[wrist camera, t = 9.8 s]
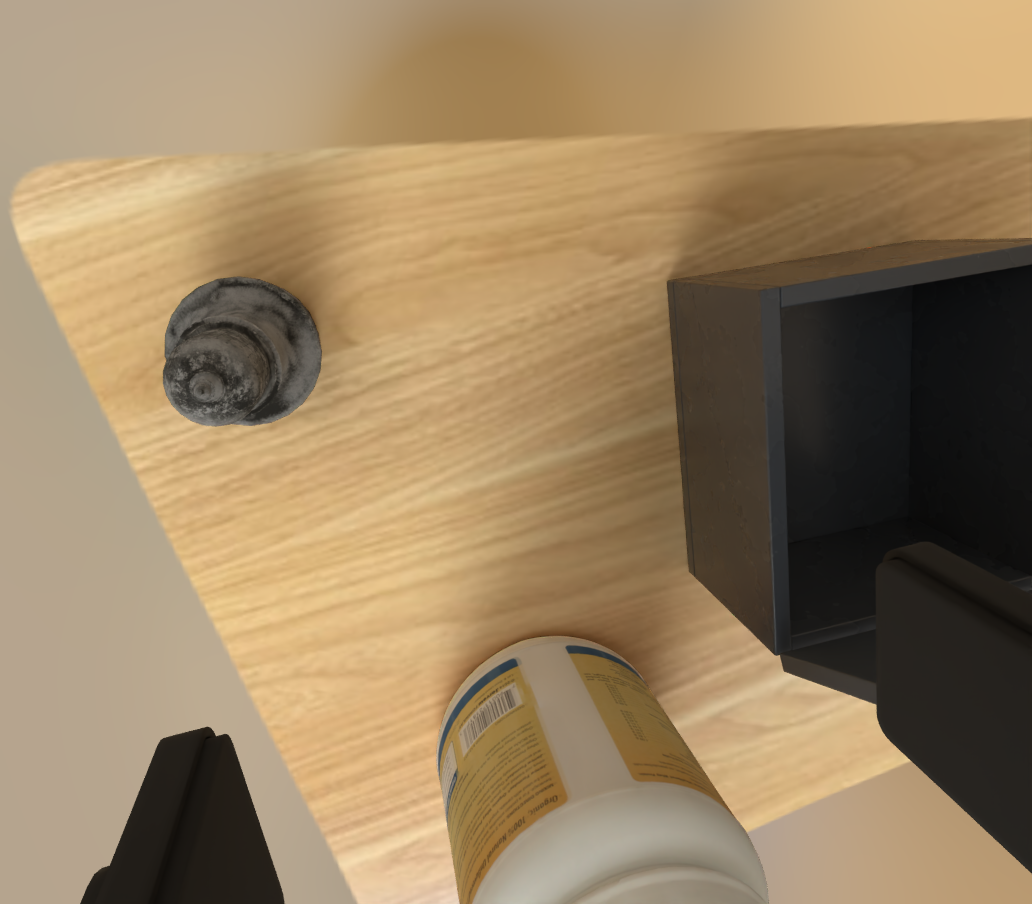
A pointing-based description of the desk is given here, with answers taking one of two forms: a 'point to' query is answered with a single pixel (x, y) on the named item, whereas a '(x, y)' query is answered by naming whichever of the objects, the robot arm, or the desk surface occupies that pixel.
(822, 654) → the lid
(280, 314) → the chess piece
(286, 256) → the desk surface
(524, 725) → the supplement tub
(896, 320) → the chest
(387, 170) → the desk surface
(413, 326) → the desk surface
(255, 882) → the robot arm
